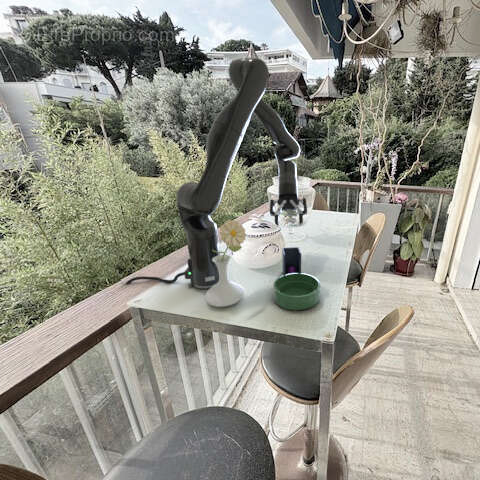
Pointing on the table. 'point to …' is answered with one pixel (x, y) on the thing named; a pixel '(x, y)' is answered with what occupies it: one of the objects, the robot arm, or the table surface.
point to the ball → (291, 270)
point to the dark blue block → (291, 259)
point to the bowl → (296, 291)
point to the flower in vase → (226, 289)
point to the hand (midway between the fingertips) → (289, 225)
